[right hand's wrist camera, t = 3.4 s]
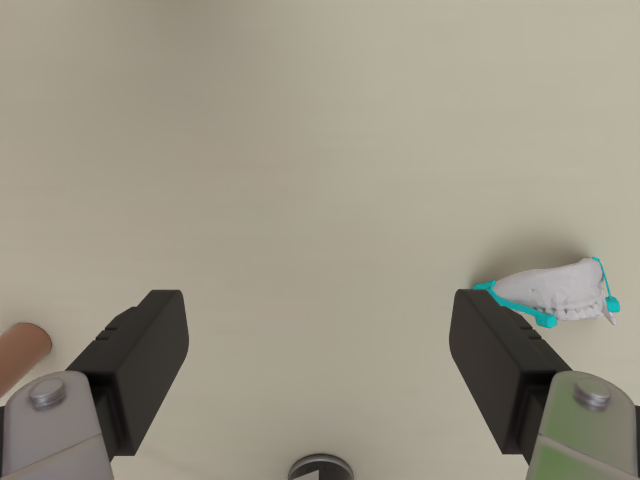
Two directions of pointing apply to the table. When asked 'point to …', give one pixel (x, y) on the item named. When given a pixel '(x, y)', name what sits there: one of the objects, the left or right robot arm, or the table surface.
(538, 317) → the anatomical model
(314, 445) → the table surface
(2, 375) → the bottle
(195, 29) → the table surface
